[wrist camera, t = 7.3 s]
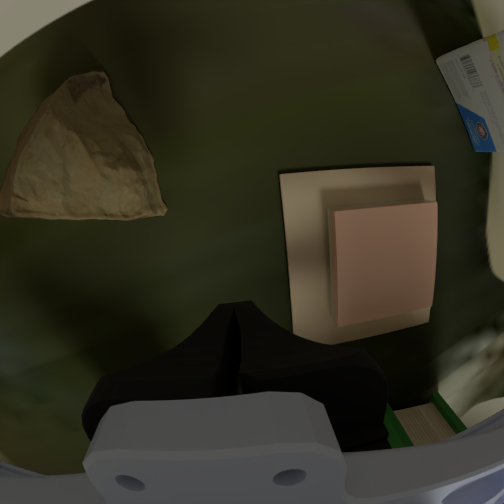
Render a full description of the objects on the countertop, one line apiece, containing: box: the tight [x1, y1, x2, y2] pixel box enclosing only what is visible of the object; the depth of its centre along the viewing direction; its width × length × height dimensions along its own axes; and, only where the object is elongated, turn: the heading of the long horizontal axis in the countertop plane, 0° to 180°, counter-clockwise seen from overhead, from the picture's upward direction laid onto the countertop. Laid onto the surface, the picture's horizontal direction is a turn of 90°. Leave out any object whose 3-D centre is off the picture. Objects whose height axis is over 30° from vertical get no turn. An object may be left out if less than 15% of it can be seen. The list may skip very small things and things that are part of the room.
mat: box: [279, 166, 436, 345], centre depth 22 cm, size 13×12×1 cm
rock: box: [0, 71, 167, 221], centre depth 16 cm, size 11×9×10 cm
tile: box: [327, 200, 437, 327], centre depth 21 cm, size 8×2×8 cm
